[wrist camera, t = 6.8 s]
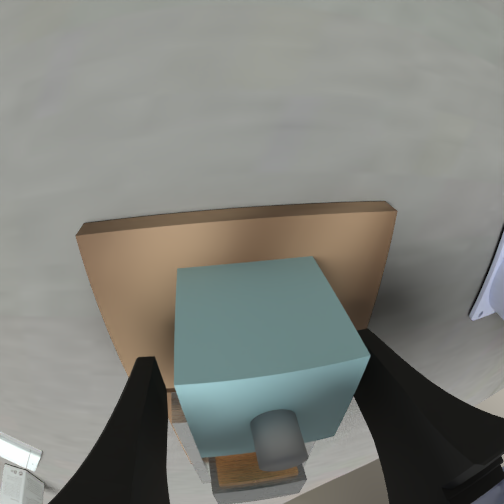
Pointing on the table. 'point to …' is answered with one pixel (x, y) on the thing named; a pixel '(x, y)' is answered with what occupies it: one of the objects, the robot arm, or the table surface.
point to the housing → (263, 358)
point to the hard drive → (19, 452)
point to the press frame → (217, 253)
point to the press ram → (251, 479)
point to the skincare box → (20, 487)
